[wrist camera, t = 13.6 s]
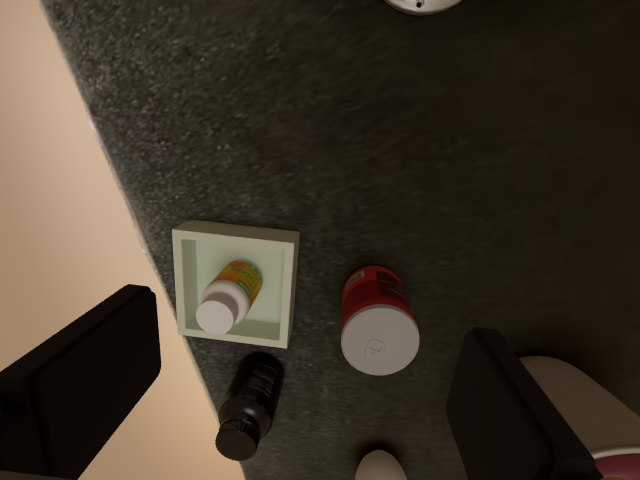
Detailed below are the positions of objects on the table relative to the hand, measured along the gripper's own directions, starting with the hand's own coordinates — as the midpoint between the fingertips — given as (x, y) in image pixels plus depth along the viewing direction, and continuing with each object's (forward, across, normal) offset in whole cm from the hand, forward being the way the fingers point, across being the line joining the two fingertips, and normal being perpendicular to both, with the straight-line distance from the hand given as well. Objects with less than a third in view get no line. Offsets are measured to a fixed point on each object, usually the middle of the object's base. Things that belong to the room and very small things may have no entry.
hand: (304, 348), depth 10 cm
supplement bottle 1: (+30, +11, +13) cm, 34 cm away
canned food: (+31, -6, +13) cm, 34 cm away
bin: (+30, +11, +13) cm, 35 cm away
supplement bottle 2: (+31, +8, +28) cm, 42 cm away
